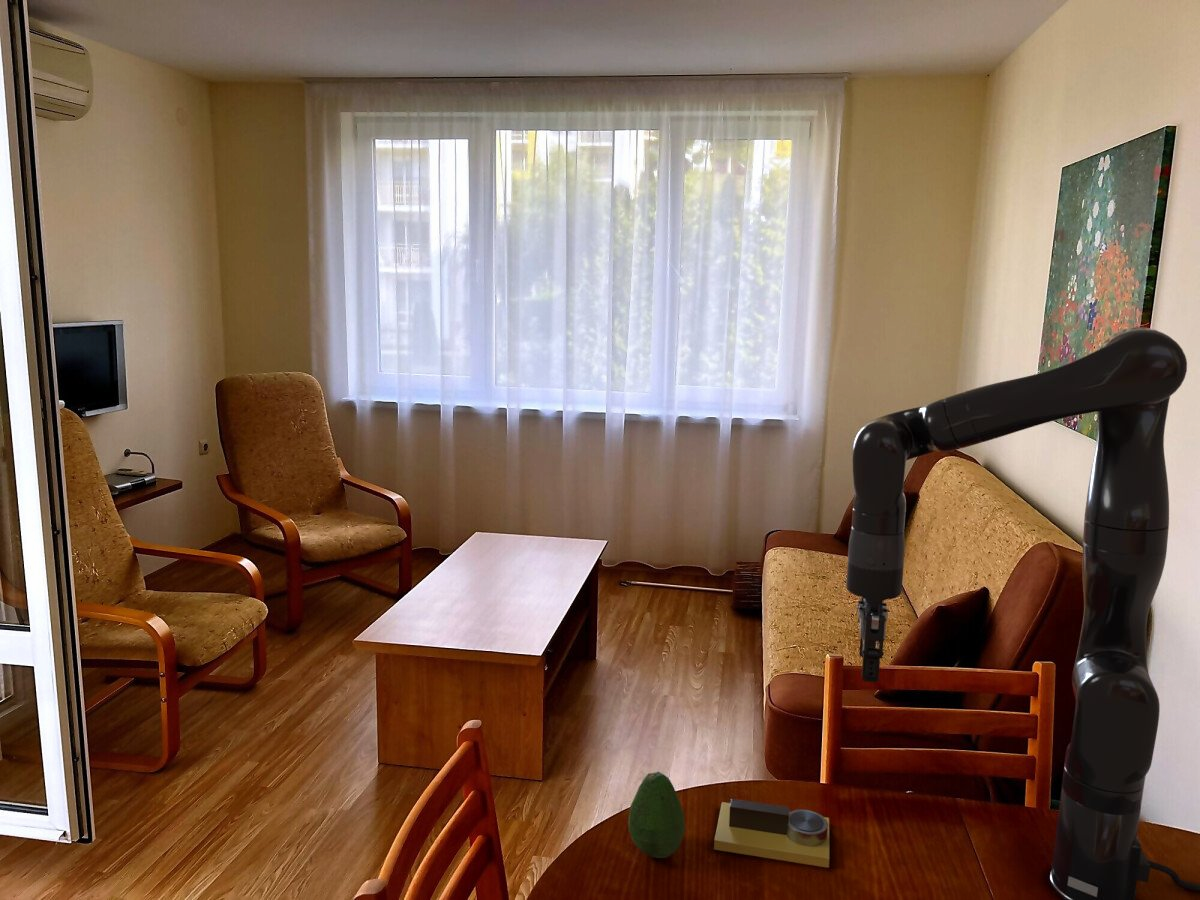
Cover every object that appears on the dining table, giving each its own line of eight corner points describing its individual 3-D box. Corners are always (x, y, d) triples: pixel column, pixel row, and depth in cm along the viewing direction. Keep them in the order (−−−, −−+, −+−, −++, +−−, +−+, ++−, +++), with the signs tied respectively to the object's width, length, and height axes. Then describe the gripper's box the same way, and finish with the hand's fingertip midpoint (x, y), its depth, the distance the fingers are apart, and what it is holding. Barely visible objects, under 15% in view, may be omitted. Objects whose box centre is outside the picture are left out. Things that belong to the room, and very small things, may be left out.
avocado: (661, 830, 134) (663, 755, 132) (694, 858, 128) (697, 781, 126) (616, 847, 130) (618, 771, 128) (648, 878, 124) (650, 798, 121)
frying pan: (827, 825, 134) (828, 805, 133) (827, 849, 128) (828, 829, 127) (731, 810, 137) (732, 791, 136) (727, 834, 131) (728, 814, 131)
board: (828, 826, 136) (829, 817, 136) (828, 868, 126) (829, 858, 126) (721, 810, 140) (722, 801, 139) (714, 849, 130) (714, 840, 130)
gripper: (908, 578, 119) (899, 693, 122) (899, 547, 133) (892, 651, 136) (849, 573, 121) (842, 686, 124) (846, 543, 135) (840, 646, 138)
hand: (868, 668), depth 130 cm, fingers open, 8 cm apart
